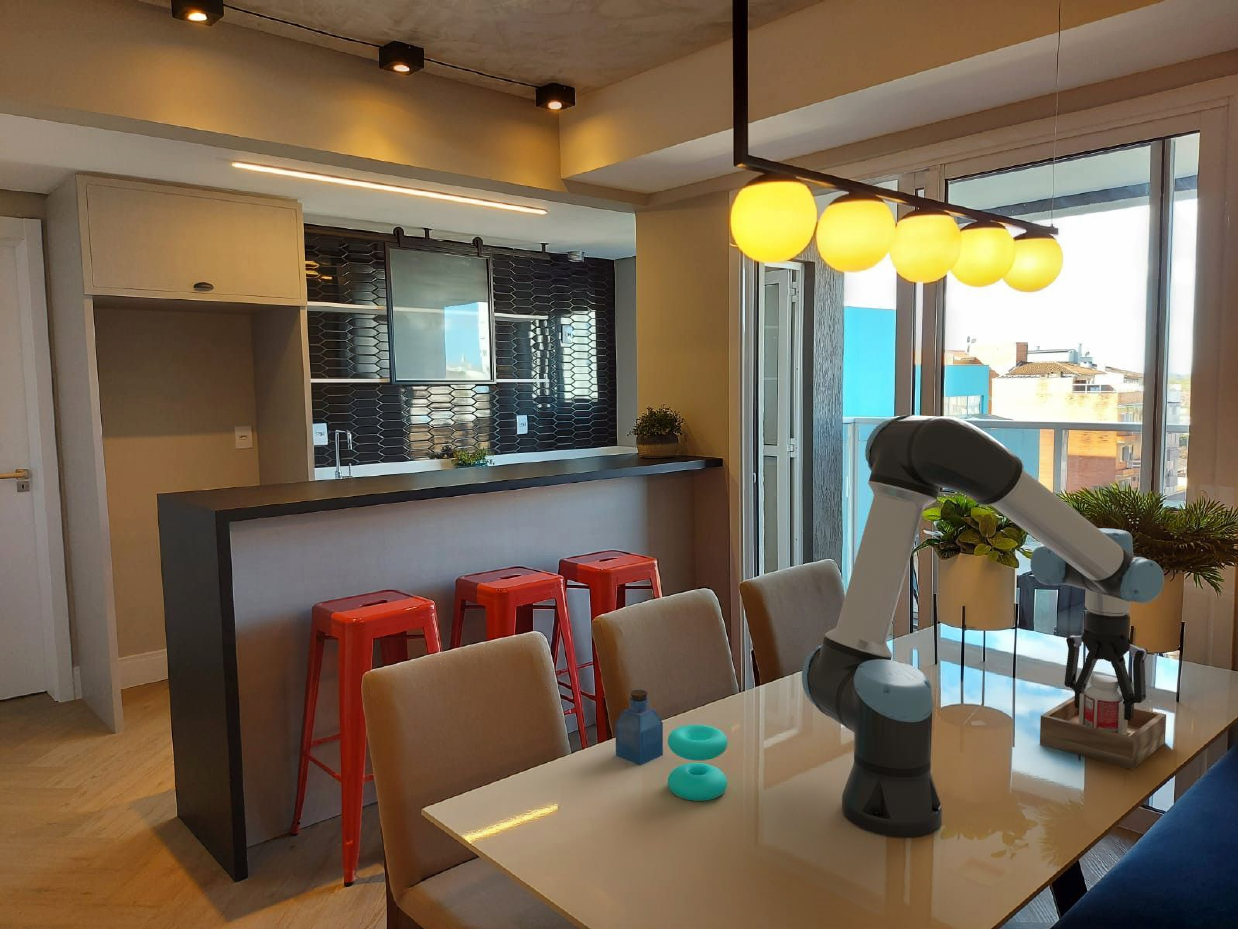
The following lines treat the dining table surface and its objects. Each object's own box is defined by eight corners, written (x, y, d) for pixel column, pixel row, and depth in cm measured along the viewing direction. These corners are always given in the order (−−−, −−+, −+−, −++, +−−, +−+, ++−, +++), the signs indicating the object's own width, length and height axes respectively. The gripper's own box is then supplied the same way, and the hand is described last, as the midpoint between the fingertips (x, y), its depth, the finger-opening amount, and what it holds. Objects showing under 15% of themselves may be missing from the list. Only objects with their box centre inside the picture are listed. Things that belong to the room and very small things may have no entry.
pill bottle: (1127, 736, 167) (1130, 679, 167) (1110, 743, 164) (1112, 685, 163) (1094, 726, 173) (1097, 671, 172) (1077, 733, 169) (1079, 676, 168)
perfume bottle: (662, 755, 164) (662, 692, 163) (640, 765, 160) (640, 700, 159) (637, 746, 168) (637, 684, 168) (615, 756, 164) (615, 693, 163)
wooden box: (1132, 769, 157) (1133, 739, 156) (1039, 743, 168) (1040, 715, 168) (1165, 742, 169) (1166, 714, 168) (1076, 720, 180) (1077, 694, 180)
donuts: (675, 719, 155) (732, 725, 152) (675, 774, 156) (731, 781, 153) (661, 740, 145) (721, 747, 143) (661, 799, 146) (721, 807, 143)
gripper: (1171, 617, 162) (1165, 739, 164) (1062, 599, 176) (1058, 712, 178) (1157, 624, 157) (1152, 750, 159) (1046, 605, 171) (1042, 722, 173)
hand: (1102, 730), depth 168 cm, fingers closed on pill bottle, 6 cm apart
